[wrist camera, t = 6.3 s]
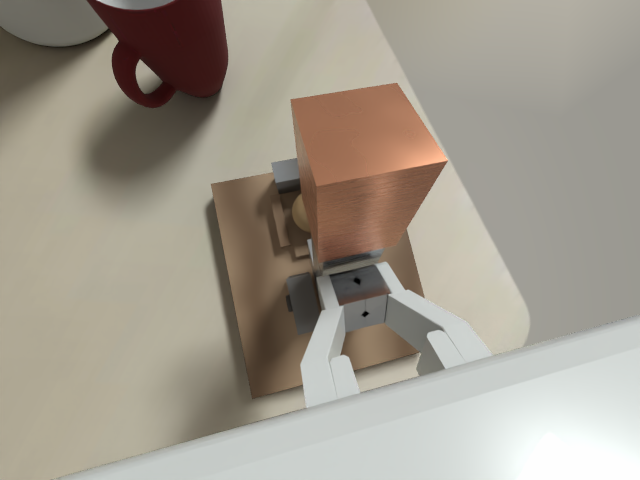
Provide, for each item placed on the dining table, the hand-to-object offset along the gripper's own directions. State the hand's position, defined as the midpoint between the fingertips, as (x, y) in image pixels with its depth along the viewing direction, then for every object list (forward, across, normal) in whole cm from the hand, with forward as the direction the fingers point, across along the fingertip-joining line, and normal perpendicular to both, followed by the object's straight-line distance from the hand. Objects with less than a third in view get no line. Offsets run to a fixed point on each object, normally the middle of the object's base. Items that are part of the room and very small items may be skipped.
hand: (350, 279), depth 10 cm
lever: (+5, 0, +6) cm, 8 cm away
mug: (+23, +8, -5) cm, 25 cm away
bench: (+10, 0, +8) cm, 13 cm away
